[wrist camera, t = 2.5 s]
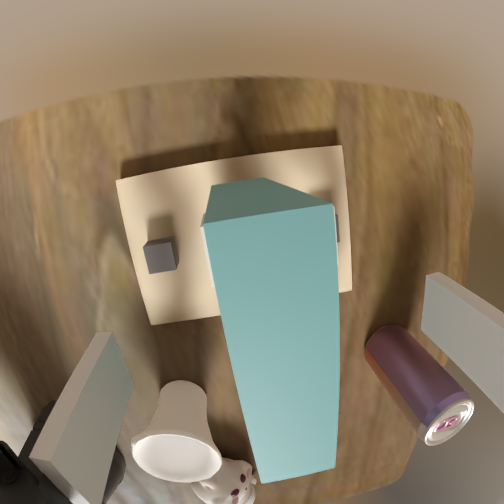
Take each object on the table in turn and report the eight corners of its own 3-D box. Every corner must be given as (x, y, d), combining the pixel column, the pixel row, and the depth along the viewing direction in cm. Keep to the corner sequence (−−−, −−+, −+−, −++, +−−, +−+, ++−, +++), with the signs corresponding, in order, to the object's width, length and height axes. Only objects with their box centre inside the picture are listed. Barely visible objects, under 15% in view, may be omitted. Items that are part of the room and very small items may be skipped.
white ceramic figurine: (248, 534, 32) (216, 509, 26) (203, 518, 36) (162, 486, 30) (272, 487, 40) (250, 448, 34) (228, 475, 43) (196, 433, 37)
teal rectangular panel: (236, 333, 23) (259, 483, 11) (210, 184, 20) (198, 224, 7) (281, 325, 23) (337, 466, 11) (262, 176, 20) (336, 203, 8)
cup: (166, 354, 32) (153, 419, 22) (234, 393, 34) (241, 458, 25) (129, 398, 33) (113, 460, 24) (193, 431, 36) (191, 492, 26)
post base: (153, 318, 31) (139, 360, 23) (120, 179, 26) (89, 186, 19) (346, 284, 32) (378, 317, 25) (335, 145, 28) (372, 143, 21)
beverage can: (371, 321, 34) (443, 405, 19) (410, 322, 34) (485, 393, 20) (356, 364, 35) (412, 453, 21) (395, 362, 36) (456, 439, 22)
